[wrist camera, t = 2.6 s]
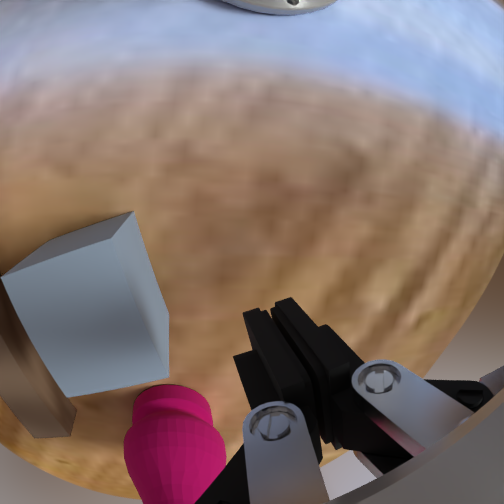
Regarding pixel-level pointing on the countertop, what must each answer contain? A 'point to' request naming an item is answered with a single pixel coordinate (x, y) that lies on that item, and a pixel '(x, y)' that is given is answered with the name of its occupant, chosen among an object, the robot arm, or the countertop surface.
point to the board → (29, 380)
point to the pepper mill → (172, 446)
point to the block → (93, 308)
